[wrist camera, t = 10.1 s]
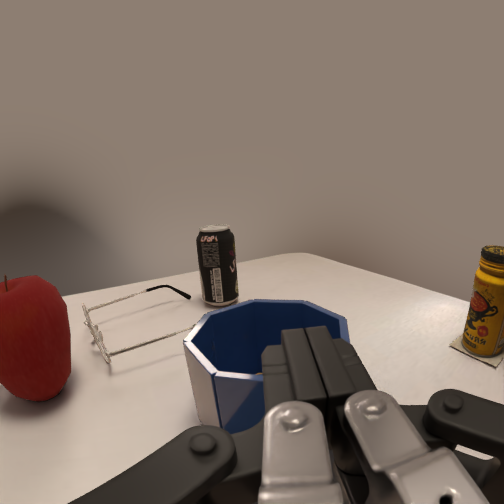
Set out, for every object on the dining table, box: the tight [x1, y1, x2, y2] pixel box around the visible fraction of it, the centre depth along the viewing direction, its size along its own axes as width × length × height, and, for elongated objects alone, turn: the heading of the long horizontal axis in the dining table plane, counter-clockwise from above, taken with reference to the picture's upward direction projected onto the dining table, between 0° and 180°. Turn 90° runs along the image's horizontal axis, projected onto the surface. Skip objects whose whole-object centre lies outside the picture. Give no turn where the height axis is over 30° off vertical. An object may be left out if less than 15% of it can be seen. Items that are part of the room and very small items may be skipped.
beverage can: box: [196, 225, 239, 306], centre depth 46 cm, size 6×6×12 cm
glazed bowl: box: [183, 299, 350, 434], centre depth 22 cm, size 11×11×8 cm
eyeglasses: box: [82, 285, 196, 363], centre depth 38 cm, size 16×19×5 cm
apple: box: [0, 275, 71, 402], centre depth 23 cm, size 12×12×13 cm
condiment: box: [449, 246, 504, 367], centre depth 26 cm, size 7×8×12 cm
